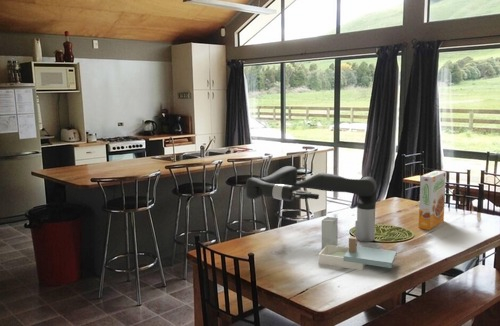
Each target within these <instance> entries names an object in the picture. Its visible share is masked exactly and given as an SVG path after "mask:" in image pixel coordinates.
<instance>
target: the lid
mask: <svg viewBox="0 0 500 326" xmlns="http://www.w3.org/2000/svg"><path fill="white" fill-rule="evenodd" d="M357 244H358V240H357V237H355V236H351V235H350V237H348V248H349V250H348V251H347V252H346V254H345V255H344V261H347V262H354V263H361V264H366V265H368V266H369V265H370V266H375V267H381V268H389V269H391V268H393V266H392V265H393V262H394V259H395V257H397V254H398V253H397V250H391V249H390V250H389V249H381V248H375V247H374V248H373V247H367V246H361V245H360V246H358V245H357Z"/></svg>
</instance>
